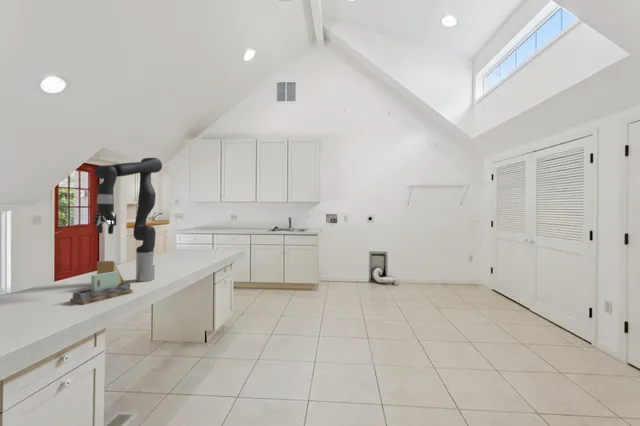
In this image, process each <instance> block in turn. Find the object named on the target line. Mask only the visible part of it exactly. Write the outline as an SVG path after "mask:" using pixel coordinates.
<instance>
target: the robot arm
mask: <svg viewBox="0 0 640 426" xmlns="http://www.w3.org/2000/svg"><path fill="white" fill-rule="evenodd" d="M162 168H163V163H162V161H161V160H160V159H159V158H158V157H145V158H142V159H141V161H137V162H135V161H134V162H133V161H132V162H122V163H116V164H107V165H99V166H97V167H96V168H95V170H94V175H95V176H96V177H97V178H98V179H100V180H103V181H102V182H101V183H98V185H97V198H96V211H97V213H95V214H94V223H93V224H94V225H95V226H96V227H97V230H96V231H97V234H102V233H103V225H104V224H107V226H108V227H107V233H108V235H113V234H114V227H115V226H117V214H116V213H114V211H115V197H114V188H115V184H116V181H117V178H118V177H119V178H121V177H126V176H131V175H136V174H139V191H138V199H137V212H136V217H135V222H134V225H133V226H134V227H133V238H134V239H135V240H136V241H142V243H141V245H139V246H137V247H136V250H135V251H136V255H135V257H136V259H135V261H136V262H135V282H149V281H153V280H155V265H156V264H155V263H154V249H155V246H156V229H155V227H154V226H152V225H147V219H148V217H149V214H150V213H151V211H153V209H154V207H155V205H156V192H155V189H154V186H153V185H152V180H151V178H152V173H153V174H154V173H155V174H156V173H159V172H160V171H161V170H162ZM113 213H114V214H113Z"/></svg>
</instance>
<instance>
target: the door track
mask: <svg viewBox="0 0 640 426" xmlns="http://www.w3.org/2000/svg"><path fill="white" fill-rule="evenodd" d="M125 294H126V295H130V294H133V289H131V283H127V282H124V283H119V286H115V287H110V288H106V289H101V290H96V291H92V292H91V288H88V289H84V290H80V291H75V292H72V298H70V299H69V300H70V303H74V304H79V305H87V304H88V305H89V304H92V303H96V302H101V301H105V300H109V299H108V298H110V299H113V297H114V298H117V296H118V297H121V296H120V295H122V296H125ZM104 299H105V300H104ZM100 300H101V301H100Z"/></svg>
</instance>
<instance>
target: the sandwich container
mask: <svg viewBox="0 0 640 426" xmlns="http://www.w3.org/2000/svg"><path fill="white" fill-rule="evenodd" d="M114 271H117V272H119V283H125V280H124V278H123V277H122V275H121V272H120V271H119V269H118V267H117V265H116V263H115V261H114V260H102V261H101V260H100V261H99V260H98V261H97V262H96V274H102V273H108V272H114Z"/></svg>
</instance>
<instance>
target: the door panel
mask: <svg viewBox="0 0 640 426" xmlns="http://www.w3.org/2000/svg"><path fill="white" fill-rule="evenodd" d="M119 273H120V271H119V272H117V271H114V272H108V273H102V274H97V273H96V274H91V276H90V277H91V284H90V285H91V286H90V289H91V292H92V291H96V290H101V289H106V288H110V287H115V286H119Z"/></svg>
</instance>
